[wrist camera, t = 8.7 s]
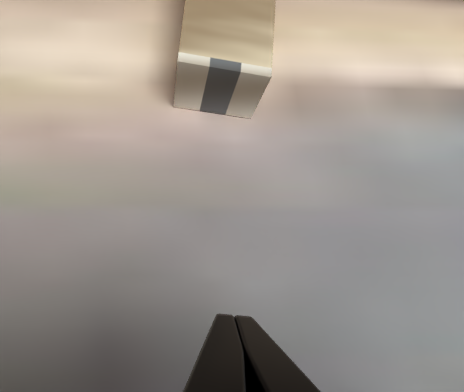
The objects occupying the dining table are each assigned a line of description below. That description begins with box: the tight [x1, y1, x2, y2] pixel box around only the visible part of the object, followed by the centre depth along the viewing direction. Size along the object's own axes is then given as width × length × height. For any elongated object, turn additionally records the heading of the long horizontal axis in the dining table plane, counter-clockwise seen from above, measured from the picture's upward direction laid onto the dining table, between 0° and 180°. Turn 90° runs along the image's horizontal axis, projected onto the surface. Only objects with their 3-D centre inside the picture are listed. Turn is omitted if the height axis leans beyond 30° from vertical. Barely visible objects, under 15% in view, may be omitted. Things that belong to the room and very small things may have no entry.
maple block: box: [173, 0, 275, 119], centre depth 23 cm, size 4×4×9 cm
